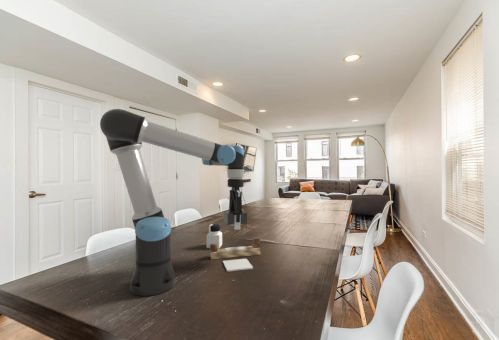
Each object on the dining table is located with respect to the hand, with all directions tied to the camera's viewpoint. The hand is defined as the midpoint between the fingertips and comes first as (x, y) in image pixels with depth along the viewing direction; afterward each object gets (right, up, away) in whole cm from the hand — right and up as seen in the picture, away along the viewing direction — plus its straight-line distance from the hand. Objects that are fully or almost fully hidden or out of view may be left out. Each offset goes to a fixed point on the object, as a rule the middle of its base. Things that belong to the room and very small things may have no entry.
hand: (234, 227), depth 113 cm
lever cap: (0, +2, 0) cm, 2 cm away
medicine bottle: (-12, -15, +19) cm, 27 cm away
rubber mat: (+2, -15, -8) cm, 17 cm away
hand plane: (0, -15, +5) cm, 16 cm away
